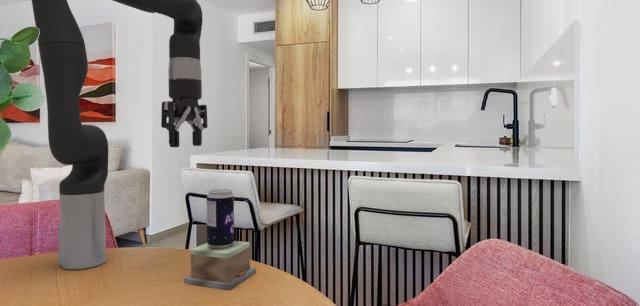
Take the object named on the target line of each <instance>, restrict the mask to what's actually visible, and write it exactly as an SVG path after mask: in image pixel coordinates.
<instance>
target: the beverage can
mask: <svg viewBox="0 0 640 306" xmlns="http://www.w3.org/2000/svg"><path fill="white" fill-rule="evenodd" d="M234 203H235V197H234V193H233V190H232V189H225V188H220V189H218V188H217V189H216V188H215V189H211V190H210V189H209V190H208V194H207V195H206V243H208V244H209V245H210V246H211V247H212V248H216V249H222V248H227V247H229V246H230V245H231V244H232V243H233V242H234V241H235V239H234V238H235V204H234Z"/></svg>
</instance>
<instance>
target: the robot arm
mask: <svg viewBox="0 0 640 306" xmlns="http://www.w3.org/2000/svg"><path fill="white" fill-rule="evenodd" d="M112 2H115V3H119V4H121V5H125V6H127V7H130V8H133V9H136V10H139V11H142V12H145V13H149V14H155V13H157V14H160V15H163V16H166V17H167V18H171V19H172V20H173V34H171V35H170V36H169V41H168V48H169V49H168V51H169V53H168V55H169V56H168V57H169V62H168V68H167V69H168V73H167V74H168V97H169V98H170V99H172V101H170V100H166V101H162V102H161V119H160V120H161V122H160V123H161V125H160V127H161V128H163V129H166V130H167V131H168V144H169V147H170V148H179V147H180V131H179V130H180V128H181V126H182V124H184V123H185V122H186V123H187V124H188V125H190V127H191V129H192V131H191V132H192V133H191V134H192V139H191V140H192V145H193V147H201V146H202V145H203V143H202V142H203V138H202V137H203V131H204V130H205V129H207V128H208V127H209V126H208V109H207V107H208V105H206V104H199V100H200V99H202V98H203V95H202V93H203V91H202V90H203V89H202V82H203V81H202V66H201V43H200V42H201V35H202V29H203V10H202V7H201V5H200V3H199V2H198V1H197V0H112ZM31 6H32V11H33V18H34V23H35V28H36V27H37V28H39V29H40V35H39V38H38V37H37V44H38V46H37V47H38V50H39V58H40V63H41V68H42V69H41V70H42V74H43V81H44V82H43V83H44V90H45V98H46V106H47V107H46V109H47V134H48V135H47V136H48V144H49V145H48V146H49V150H50V153H51V155H52V156H53V158H54V159H55V160H56V161H57V162H58V163H60V164H62V165H67V166H71V171H70V173H69V174H68V175H67V176H65V178H63V179H62V180H60V182H59V186H58V187H59V188H58V190H59V191H58V193H59V194H58V196H59V215H60V216H59V218H60V219H59V223H60V224H58V225H57V243H58V244H57V247H58V249H57V250H58V265H59V266H61V268H63V269H65V270H83V269H84V270H85V269H89V268H94V267H97V266H100V265H103V264H105V263H106V261H107V246H106V245H107V240H106V238H107V237H106V236H107V235H106V207H105V206H106V203H105V202H106V201H105V199H106V198H105V184H106V181H107V179H108V175H109V142H108V138H107V134H106V133H105V131H104V130H103V129H102V128H100V127H99V126H97V125H94V124H93V125H92V124H82V120H81V115H80V108H79V107H80V102H79V101H80V95H81V91H82V89H83V86H84V85H85V81H86V79H87V75H88V72H89V71H88V70H89V64H88V63H89V62H88V56H87V55H88V54H87V51H86V50H87V48H86V44H85V43H86V42H85V40H84V36H83V34H82V32H81V30H80V27H79V25H78V22H77V20H76V18H75V16H74V14H73V12H72V10H71V8H70V5H69V3H68V0H31ZM167 118H168V120H167ZM167 121H168V122H167Z"/></svg>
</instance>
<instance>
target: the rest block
mask: <svg viewBox="0 0 640 306" xmlns="http://www.w3.org/2000/svg"><path fill="white" fill-rule="evenodd" d="M250 247H251V242H248V241H241V240H239V241H237V240H234V242H233V243H232V244H231V245H230V246H229V247H227V248H222V249H216V248H212V247H211V246H210V245H209V244H208V243H207V242H205V243H203V244H200V245H198V246H196V247H194V248H192V249H190V274H189V275H188V276H186V277H184V278H183V284H185V285H186V284H188V285H191V286H200V287H205V288H214V289H220V290H227V291H231V290H232V289H234V288H235V287H237V286H239V285H240V284H241V283H242V282H244V281H246V280H247V279H249V278H250V277H252V276H253V275H254V274H255V273H257V268H256V267H253V266H252V267H251V248H250Z"/></svg>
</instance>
